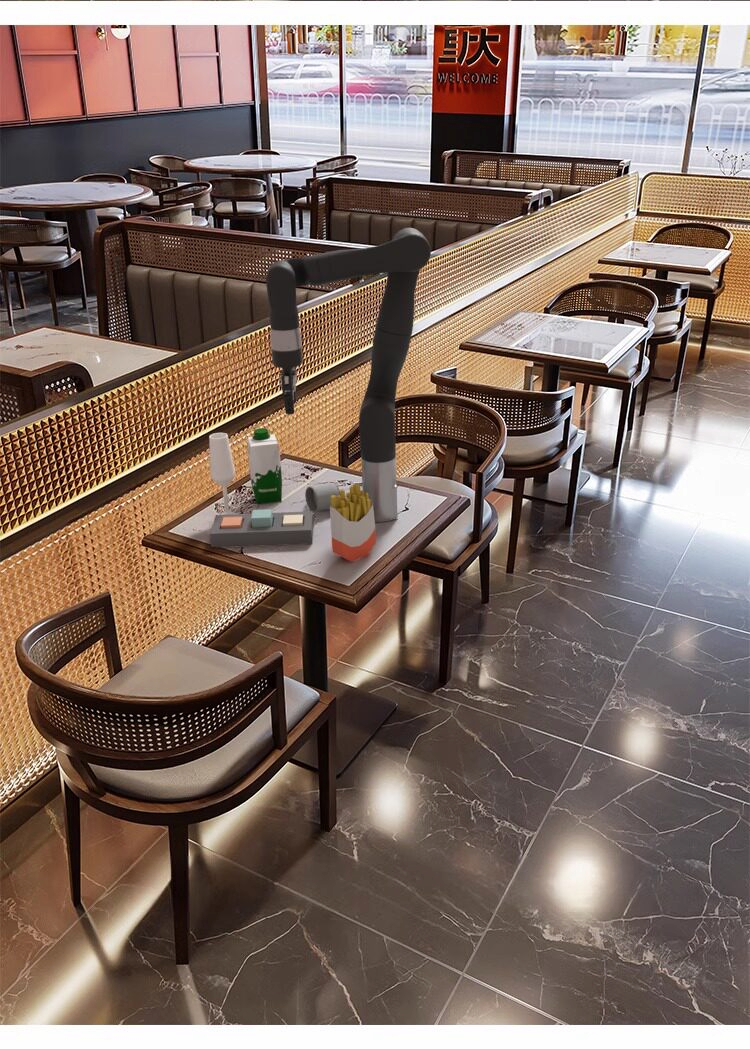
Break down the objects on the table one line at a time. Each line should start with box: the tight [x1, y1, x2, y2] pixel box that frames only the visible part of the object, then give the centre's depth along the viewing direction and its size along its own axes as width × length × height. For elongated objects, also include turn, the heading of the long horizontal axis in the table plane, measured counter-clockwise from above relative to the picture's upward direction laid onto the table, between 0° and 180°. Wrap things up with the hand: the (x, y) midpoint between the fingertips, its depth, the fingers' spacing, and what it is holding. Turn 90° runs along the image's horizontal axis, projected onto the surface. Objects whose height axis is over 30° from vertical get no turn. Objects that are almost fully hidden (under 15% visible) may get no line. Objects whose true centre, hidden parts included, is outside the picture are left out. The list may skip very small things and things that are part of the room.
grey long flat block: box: [209, 510, 315, 548], centre depth 226 cm, size 26×11×4 cm, turn 92°
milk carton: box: [247, 427, 283, 505], centre depth 244 cm, size 9×9×20 cm
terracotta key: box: [221, 517, 243, 529], centre depth 225 cm, size 5×5×3 cm
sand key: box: [283, 515, 304, 526], centre depth 225 cm, size 5×5×3 cm
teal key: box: [251, 508, 274, 528], centre depth 224 cm, size 5×5×3 cm
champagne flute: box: [209, 432, 238, 515], centre depth 232 cm, size 7×7×24 cm
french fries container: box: [329, 483, 377, 563], centre depth 211 cm, size 5×11×18 cm, turn 133°
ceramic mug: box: [304, 482, 341, 514], centre depth 240 cm, size 11×8×8 cm
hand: (291, 408), depth 220 cm, fingers open, 8 cm apart
